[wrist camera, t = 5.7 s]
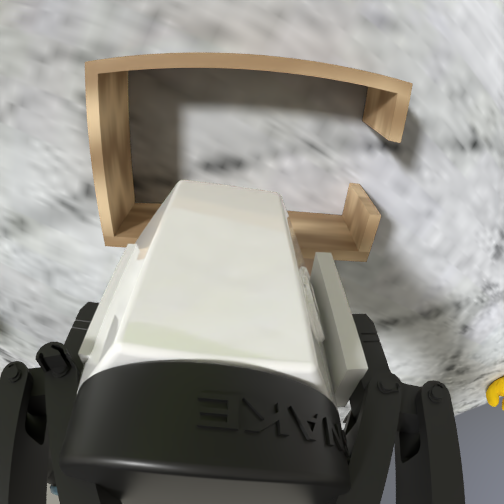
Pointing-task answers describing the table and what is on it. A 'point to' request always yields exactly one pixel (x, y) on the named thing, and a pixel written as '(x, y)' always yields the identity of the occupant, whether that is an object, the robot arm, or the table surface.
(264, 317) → the jar
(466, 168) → the table surface
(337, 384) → the robot arm
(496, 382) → the duckling
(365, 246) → the crate
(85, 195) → the table surface
